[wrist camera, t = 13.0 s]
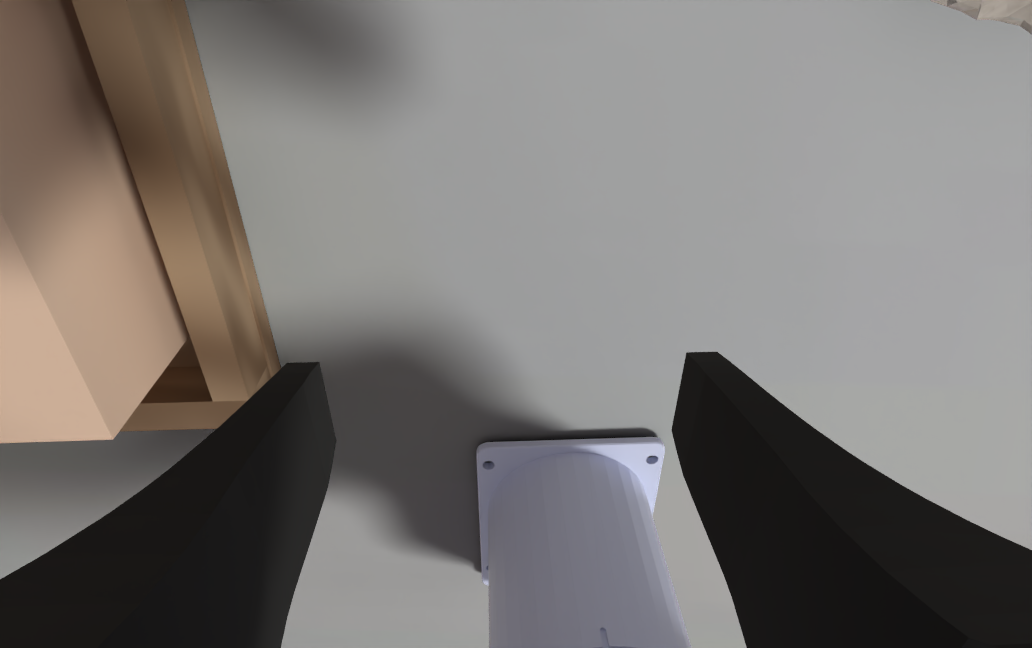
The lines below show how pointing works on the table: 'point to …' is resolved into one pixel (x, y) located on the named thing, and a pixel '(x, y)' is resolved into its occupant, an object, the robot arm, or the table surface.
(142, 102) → the wooden tray
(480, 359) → the table surface
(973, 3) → the stone tool
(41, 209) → the tan rectangular block
